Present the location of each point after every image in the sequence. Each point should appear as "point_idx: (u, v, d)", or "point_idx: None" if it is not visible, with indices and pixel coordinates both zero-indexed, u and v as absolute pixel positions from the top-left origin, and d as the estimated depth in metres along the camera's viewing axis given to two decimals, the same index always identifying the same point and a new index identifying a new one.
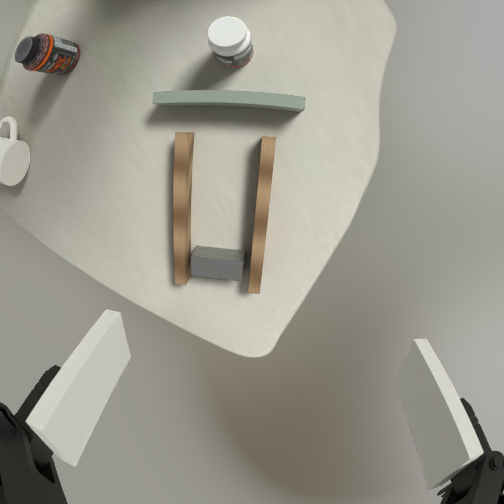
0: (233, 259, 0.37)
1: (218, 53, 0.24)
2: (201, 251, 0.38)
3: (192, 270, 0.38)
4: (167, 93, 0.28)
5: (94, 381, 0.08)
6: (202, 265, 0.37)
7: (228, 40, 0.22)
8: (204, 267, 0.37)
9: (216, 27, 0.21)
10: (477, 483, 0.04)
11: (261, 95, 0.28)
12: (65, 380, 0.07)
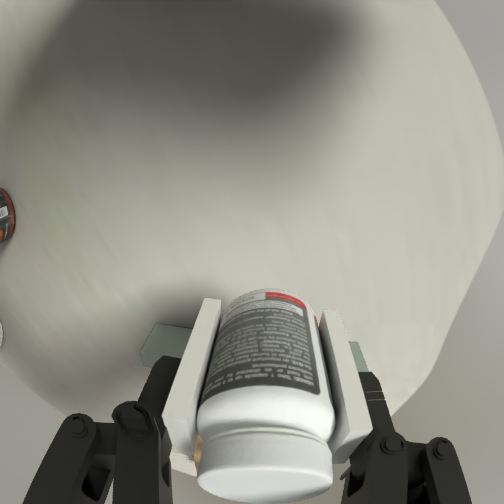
0: None
1: None
2: None
3: None
4: None
5: (208, 366, 0.10)
6: None
7: (270, 499, 0.06)
8: None
9: (227, 482, 0.06)
10: (369, 473, 0.05)
11: None
12: (193, 366, 0.09)
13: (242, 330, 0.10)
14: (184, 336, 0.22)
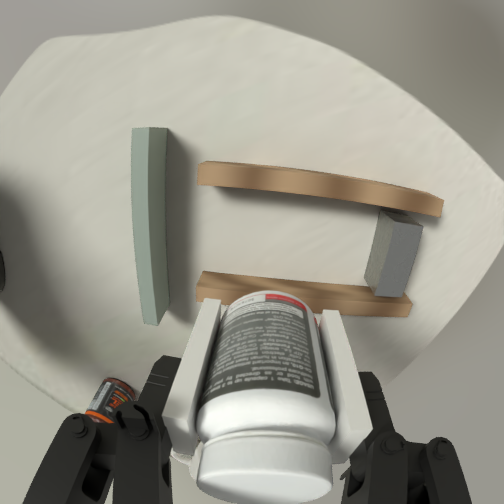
0: (390, 235, 0.21)
1: None
2: (371, 276, 0.24)
3: (395, 295, 0.23)
4: (144, 308, 0.25)
5: (208, 366, 0.10)
6: (391, 281, 0.23)
7: (269, 502, 0.06)
8: (395, 278, 0.22)
9: (226, 485, 0.06)
10: (369, 473, 0.05)
11: (135, 190, 0.20)
12: (193, 366, 0.09)
13: (242, 332, 0.10)
14: None
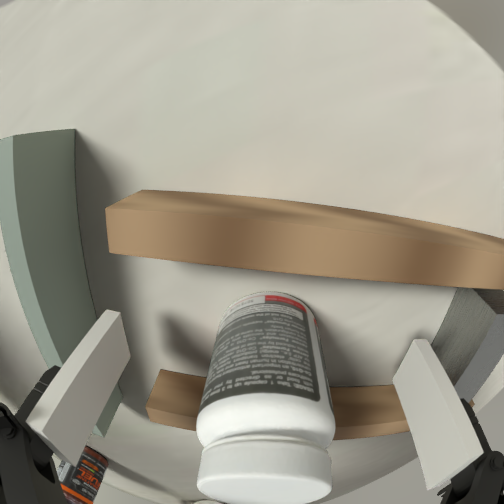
0: (484, 334, 0.09)
1: None
2: None
3: None
4: None
5: (94, 381, 0.08)
6: (461, 393, 0.10)
7: None
8: (468, 388, 0.10)
9: (227, 488, 0.06)
10: (477, 483, 0.04)
11: (12, 260, 0.08)
12: (65, 380, 0.07)
13: (241, 335, 0.10)
14: None
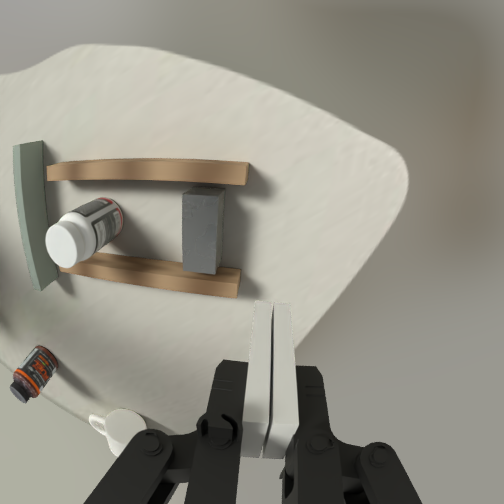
0: (182, 208, 0.23)
1: None
2: None
3: (206, 271, 0.25)
4: (31, 276, 0.26)
5: None
6: (196, 256, 0.24)
7: (65, 260, 0.20)
8: (199, 252, 0.24)
9: (51, 241, 0.19)
10: (296, 476, 0.05)
11: (16, 188, 0.22)
12: (262, 369, 0.09)
13: (81, 206, 0.24)
14: None
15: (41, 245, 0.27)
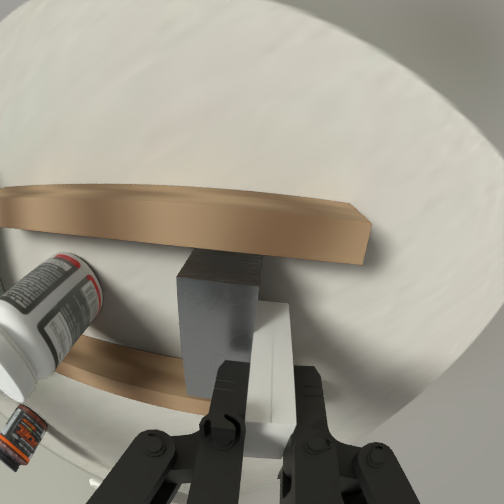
0: (179, 302, 0.10)
1: None
2: None
3: None
4: None
5: None
6: (211, 380, 0.12)
7: (8, 391, 0.08)
8: None
9: None
10: (294, 476, 0.05)
11: None
12: (264, 369, 0.09)
13: (26, 275, 0.11)
14: None
15: None
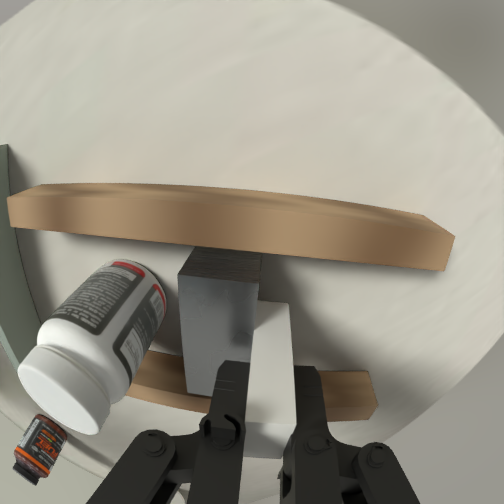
0: (180, 300, 0.11)
1: None
2: None
3: None
4: (15, 368, 0.14)
5: None
6: (211, 378, 0.12)
7: (72, 424, 0.08)
8: None
9: (31, 387, 0.07)
10: (294, 476, 0.05)
11: None
12: (264, 369, 0.09)
13: (80, 286, 0.11)
14: None
15: (21, 323, 0.15)
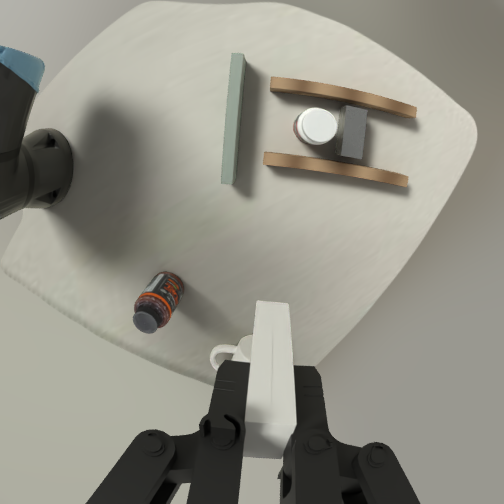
0: (345, 113, 0.32)
1: (307, 141, 0.31)
2: (338, 147, 0.35)
3: (356, 156, 0.34)
4: (224, 169, 0.35)
5: None
6: (351, 146, 0.33)
7: (322, 135, 0.29)
8: (353, 143, 0.33)
9: (311, 119, 0.28)
10: (294, 476, 0.05)
11: (231, 87, 0.31)
12: (264, 369, 0.09)
13: None
14: None
15: (237, 143, 0.36)
